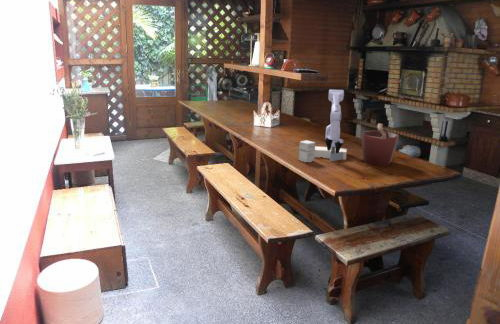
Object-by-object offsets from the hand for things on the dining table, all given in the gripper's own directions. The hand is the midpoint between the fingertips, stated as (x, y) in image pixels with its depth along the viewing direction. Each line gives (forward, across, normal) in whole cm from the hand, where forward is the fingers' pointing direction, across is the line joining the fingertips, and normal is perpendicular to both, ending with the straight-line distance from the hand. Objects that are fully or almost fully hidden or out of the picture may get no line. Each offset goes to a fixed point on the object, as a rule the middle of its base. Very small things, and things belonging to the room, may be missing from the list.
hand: (333, 151), depth 262 cm
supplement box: (+7, -8, -14) cm, 18 cm away
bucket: (+7, +15, +24) cm, 29 cm away
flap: (+6, 0, +4) cm, 7 cm away
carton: (+6, -11, +6) cm, 14 cm away
